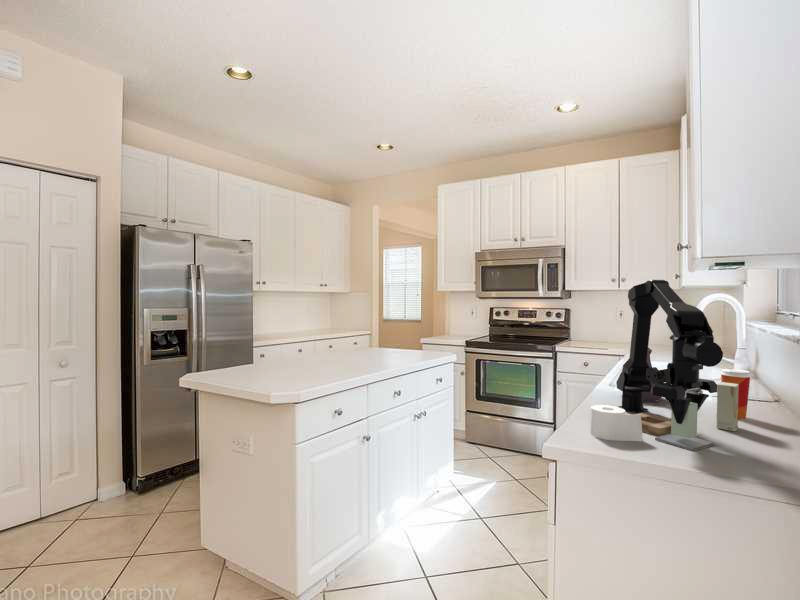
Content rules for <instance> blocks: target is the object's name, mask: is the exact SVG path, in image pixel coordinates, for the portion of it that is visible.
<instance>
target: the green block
mask: <svg viewBox="0 0 800 600" xmlns="http://www.w3.org/2000/svg"><path fill="white" fill-rule="evenodd" d="M697 409H698V403H693V402H690V404H689V407H688V409H687V412H686V415H685V418H684V420H683V422H682V424H678V423H676V420H675V417H674V414H673V411H672V410H671V416H670V417H671V418H670V419H671V433H670V434H675V435H679V436H682V437H686V438H690V437H694V438H695V437H697V434H698V412H697Z"/></svg>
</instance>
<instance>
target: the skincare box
mask: <svg viewBox="0 0 800 600" xmlns="http://www.w3.org/2000/svg"><path fill="white" fill-rule="evenodd" d="M738 392H739V384H734V383H726V382H719V383H718V384H717V392H716V393H717V395H716V428H717V429H720V430H726V431H731V432H736V431H737V429H738V427H739V419H738Z"/></svg>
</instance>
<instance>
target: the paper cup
mask: <svg viewBox="0 0 800 600" xmlns="http://www.w3.org/2000/svg"><path fill="white" fill-rule="evenodd" d="M719 374H720V379H721V382H726V383H734V384H739V392H738V420H745V419H746V418H747V410H748V402H749V391H750V381H751V378H752V375H751V373H750V371H748V370H743V369H736V368H735V369H733V368H723V369H721V371H720V373H719Z"/></svg>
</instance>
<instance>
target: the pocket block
mask: <svg viewBox="0 0 800 600" xmlns="http://www.w3.org/2000/svg"><path fill="white" fill-rule="evenodd" d="M633 415H641V424H642V433H647V434H650V435H653V436H656V437H659V436H663V435H667V434H671V418H667V417H663V416H661V415H660V416H659V415H655V414H651V413H647V412H638V413H635V414H633Z"/></svg>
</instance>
